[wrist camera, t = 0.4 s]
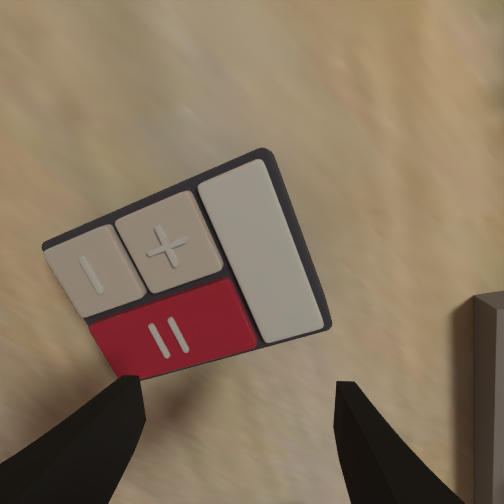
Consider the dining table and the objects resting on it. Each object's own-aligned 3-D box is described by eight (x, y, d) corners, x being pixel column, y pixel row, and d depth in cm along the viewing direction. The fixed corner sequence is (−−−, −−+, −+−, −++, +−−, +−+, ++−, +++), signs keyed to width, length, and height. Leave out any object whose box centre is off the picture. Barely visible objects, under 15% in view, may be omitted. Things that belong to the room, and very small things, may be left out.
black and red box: (25, 248, 17) (266, 142, 13) (77, 231, 21) (271, 147, 17) (117, 395, 19) (337, 337, 16) (147, 354, 23) (327, 301, 20)
